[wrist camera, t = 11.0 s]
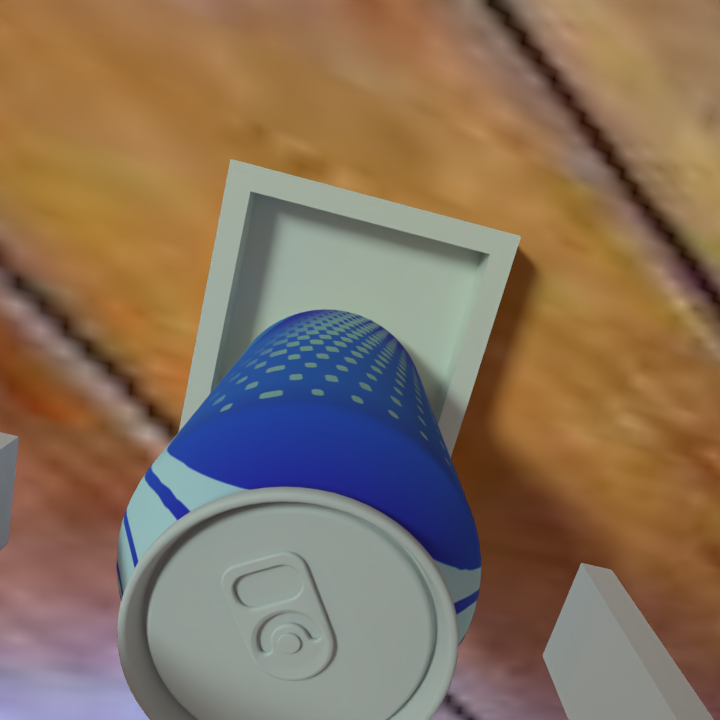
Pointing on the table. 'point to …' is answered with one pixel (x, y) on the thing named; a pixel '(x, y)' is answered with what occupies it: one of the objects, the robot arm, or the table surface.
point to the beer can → (300, 540)
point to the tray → (350, 280)
